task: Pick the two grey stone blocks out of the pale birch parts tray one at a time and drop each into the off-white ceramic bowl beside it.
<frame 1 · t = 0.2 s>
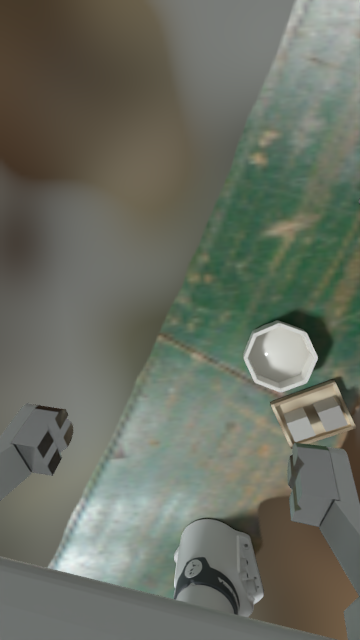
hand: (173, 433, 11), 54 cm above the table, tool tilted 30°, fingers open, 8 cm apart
tray: (310, 412, 63), on the table
bowl: (277, 352, 63), on the table
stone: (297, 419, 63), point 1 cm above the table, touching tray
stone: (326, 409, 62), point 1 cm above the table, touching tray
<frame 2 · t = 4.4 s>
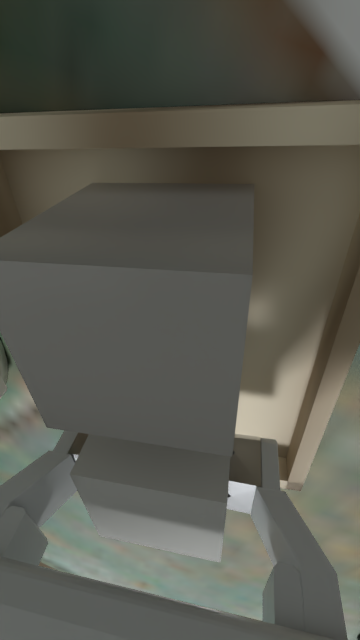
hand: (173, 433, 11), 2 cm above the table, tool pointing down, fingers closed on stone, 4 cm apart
tray: (181, 330, 11), on the table
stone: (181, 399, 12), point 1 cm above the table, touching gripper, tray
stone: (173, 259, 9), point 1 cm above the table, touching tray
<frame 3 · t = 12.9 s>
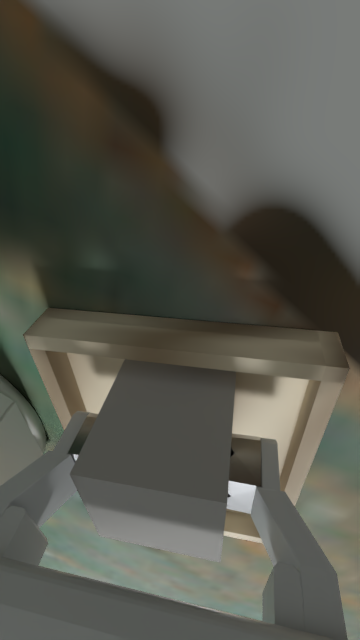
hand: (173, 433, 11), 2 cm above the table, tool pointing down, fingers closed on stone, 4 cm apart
tray: (186, 431, 15), on the table
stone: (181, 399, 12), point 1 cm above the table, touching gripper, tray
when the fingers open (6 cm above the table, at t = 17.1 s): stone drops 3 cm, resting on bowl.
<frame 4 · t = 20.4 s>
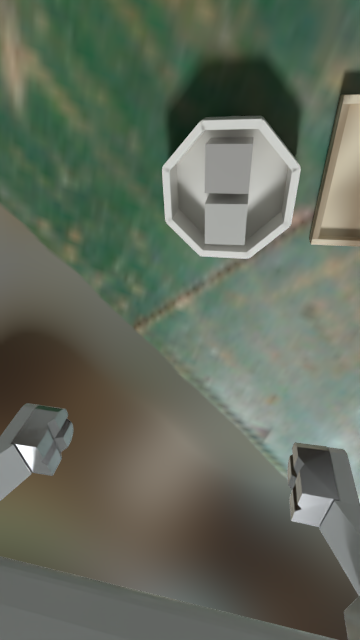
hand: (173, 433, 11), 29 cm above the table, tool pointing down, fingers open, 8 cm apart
bowl: (230, 185, 33), on the table
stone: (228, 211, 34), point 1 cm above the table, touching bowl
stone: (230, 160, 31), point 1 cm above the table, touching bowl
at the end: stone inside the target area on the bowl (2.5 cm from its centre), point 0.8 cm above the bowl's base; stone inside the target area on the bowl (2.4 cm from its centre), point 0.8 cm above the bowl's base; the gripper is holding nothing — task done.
